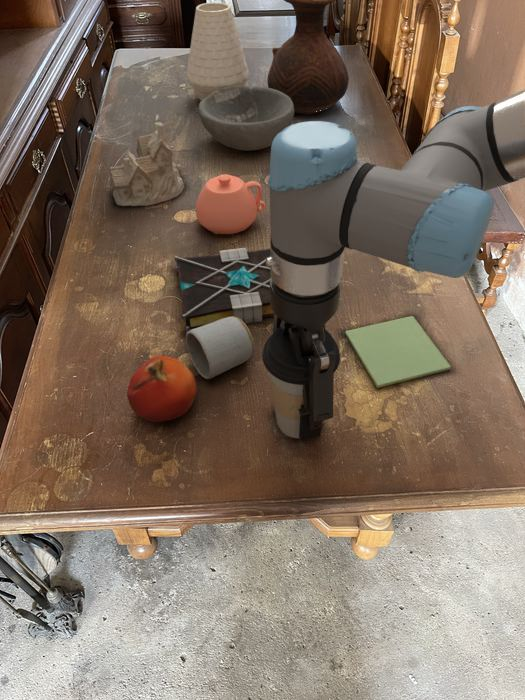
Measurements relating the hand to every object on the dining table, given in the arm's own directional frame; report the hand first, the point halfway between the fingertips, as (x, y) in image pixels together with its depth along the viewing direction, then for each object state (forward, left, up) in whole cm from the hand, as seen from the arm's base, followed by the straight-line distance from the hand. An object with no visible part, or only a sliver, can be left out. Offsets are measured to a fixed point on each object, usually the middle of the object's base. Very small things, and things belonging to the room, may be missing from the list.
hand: (298, 410), depth 73 cm
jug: (+102, -39, -2) cm, 109 cm away
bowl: (+85, -17, -2) cm, 87 cm away
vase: (+114, -17, -2) cm, 115 cm away
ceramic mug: (+15, +8, -2) cm, 17 cm away
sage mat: (+8, -19, -2) cm, 21 cm away
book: (+29, 0, -2) cm, 29 cm away
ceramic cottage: (+71, +10, -2) cm, 72 cm away
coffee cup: (0, 0, -2) cm, 2 cm away
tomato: (+8, +17, -2) cm, 19 cm away
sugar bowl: (+51, -4, -2) cm, 51 cm away
